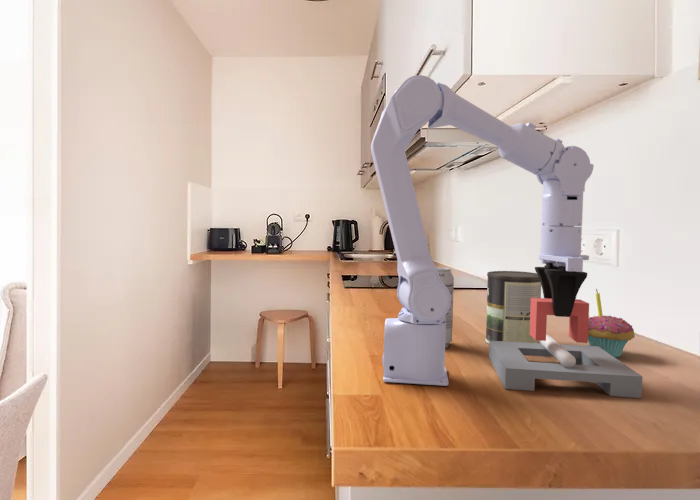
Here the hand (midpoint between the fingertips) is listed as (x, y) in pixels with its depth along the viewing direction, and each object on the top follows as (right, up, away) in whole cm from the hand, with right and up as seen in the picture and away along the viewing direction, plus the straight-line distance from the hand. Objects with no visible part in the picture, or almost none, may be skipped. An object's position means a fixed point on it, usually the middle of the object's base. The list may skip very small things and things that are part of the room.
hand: (557, 313), depth 71 cm
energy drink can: (-16, -9, +18) cm, 25 cm away
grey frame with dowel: (0, -10, +1) cm, 10 cm away
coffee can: (0, -9, +20) cm, 22 cm away
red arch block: (0, -4, 0) cm, 4 cm away
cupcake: (+15, -10, +13) cm, 22 cm away
